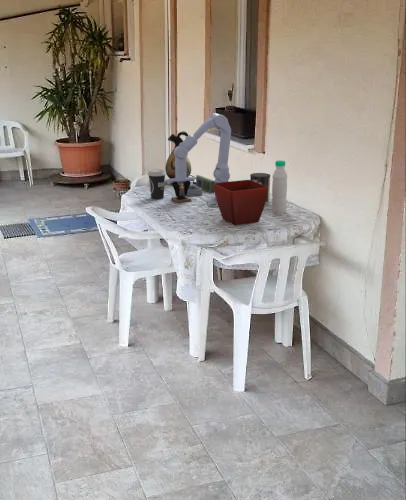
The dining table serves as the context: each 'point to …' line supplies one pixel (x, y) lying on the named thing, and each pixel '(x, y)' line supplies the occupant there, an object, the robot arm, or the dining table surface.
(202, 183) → the handheld radio
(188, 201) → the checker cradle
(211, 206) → the dining table surface
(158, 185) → the coffee cup
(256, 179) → the coffee can
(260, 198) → the plant pot
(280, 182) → the water bottle
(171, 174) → the ceramic jug
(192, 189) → the cell bin
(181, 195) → the battery cell
